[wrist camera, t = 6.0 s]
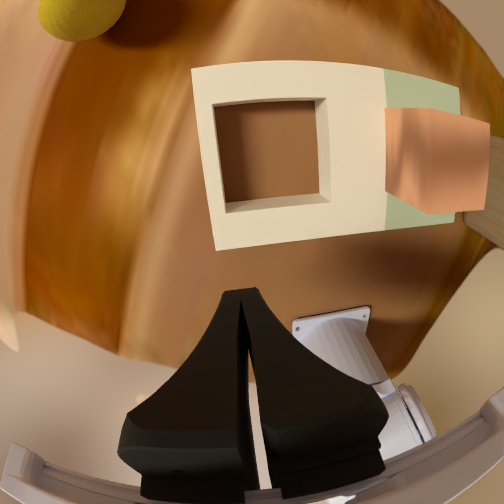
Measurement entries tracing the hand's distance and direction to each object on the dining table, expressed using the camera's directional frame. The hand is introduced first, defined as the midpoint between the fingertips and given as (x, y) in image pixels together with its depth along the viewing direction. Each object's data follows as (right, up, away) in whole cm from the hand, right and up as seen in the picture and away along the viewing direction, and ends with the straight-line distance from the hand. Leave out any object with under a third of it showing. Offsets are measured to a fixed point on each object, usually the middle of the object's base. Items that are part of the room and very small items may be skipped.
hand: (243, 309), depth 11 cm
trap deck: (+7, +10, +7) cm, 14 cm away
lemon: (-11, +20, +1) cm, 22 cm away
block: (+13, +10, +5) cm, 17 cm away
